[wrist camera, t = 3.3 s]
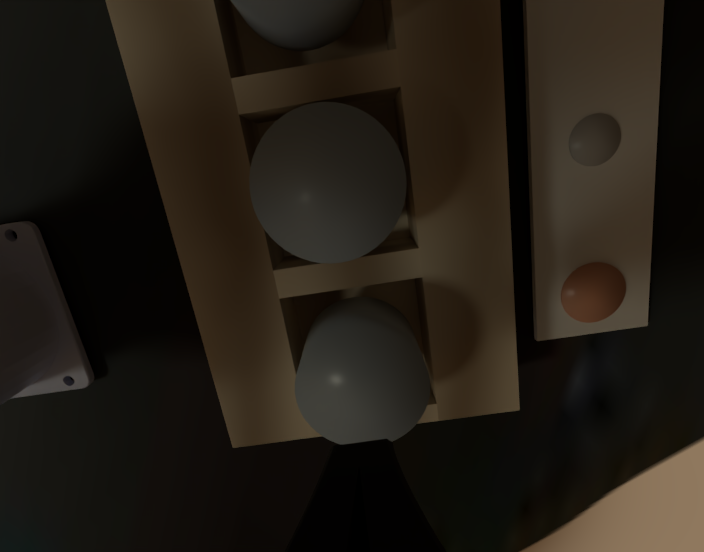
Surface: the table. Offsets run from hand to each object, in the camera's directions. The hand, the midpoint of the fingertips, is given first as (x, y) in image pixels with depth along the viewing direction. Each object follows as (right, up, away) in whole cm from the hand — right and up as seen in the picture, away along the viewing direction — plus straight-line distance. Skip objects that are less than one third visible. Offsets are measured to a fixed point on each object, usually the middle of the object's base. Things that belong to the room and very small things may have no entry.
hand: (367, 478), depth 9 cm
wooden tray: (-1, +9, +7) cm, 11 cm away
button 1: (0, +2, +7) cm, 7 cm away
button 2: (-1, +8, +5) cm, 9 cm away
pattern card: (+9, +10, +7) cm, 15 cm away
